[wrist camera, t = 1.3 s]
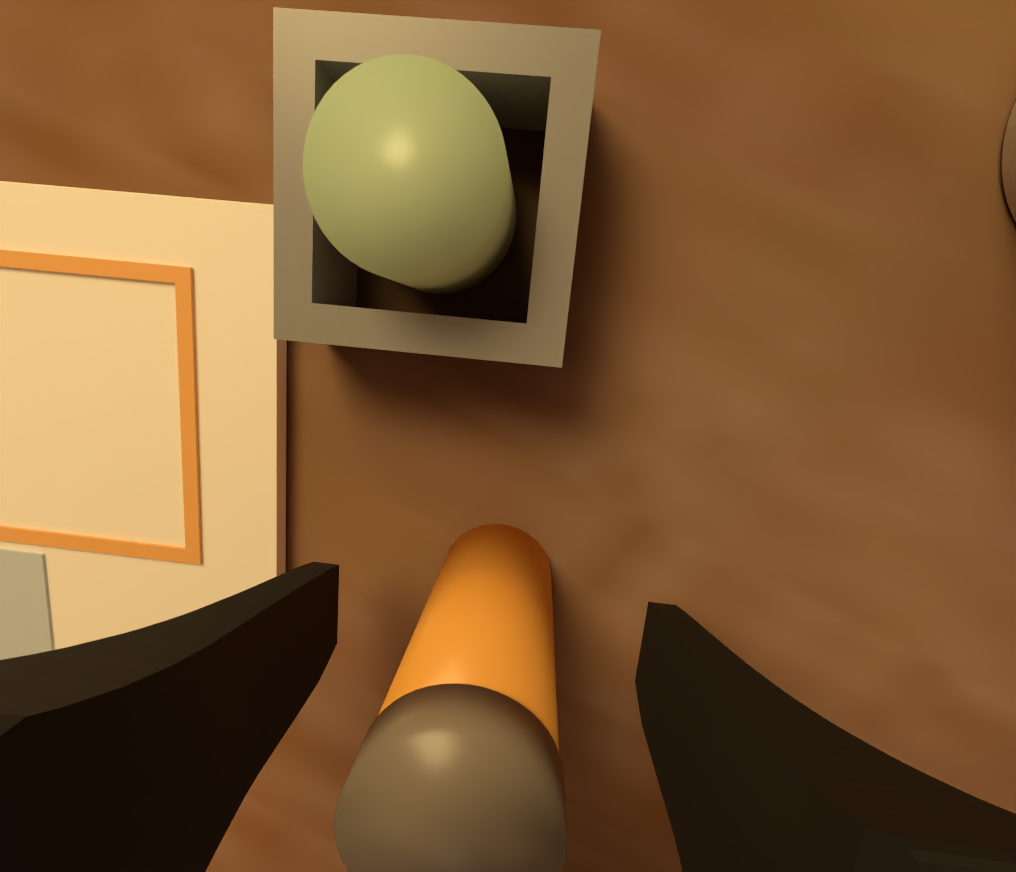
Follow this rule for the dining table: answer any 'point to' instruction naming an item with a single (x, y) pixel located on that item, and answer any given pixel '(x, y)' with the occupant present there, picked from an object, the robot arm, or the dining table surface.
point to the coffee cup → (1010, 162)
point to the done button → (411, 174)
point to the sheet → (134, 411)
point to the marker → (467, 727)
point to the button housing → (516, 105)
